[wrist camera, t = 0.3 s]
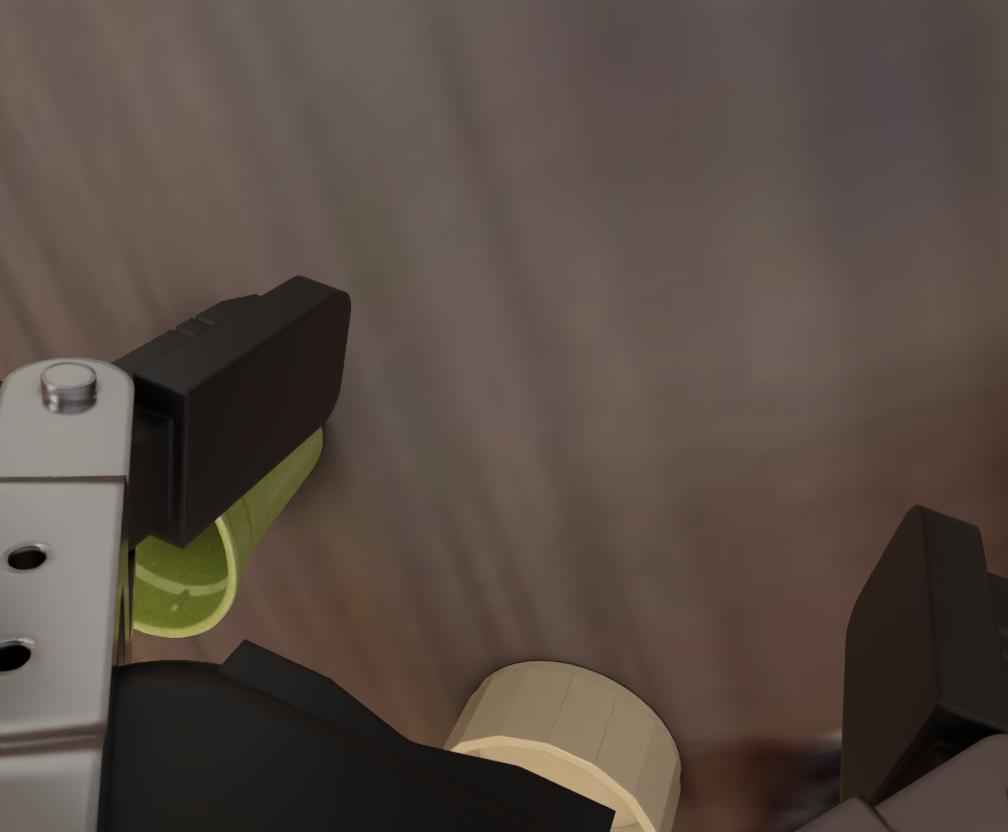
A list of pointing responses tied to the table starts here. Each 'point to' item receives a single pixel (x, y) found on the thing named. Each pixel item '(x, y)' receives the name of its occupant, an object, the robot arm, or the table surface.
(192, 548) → the plant pot
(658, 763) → the beige round bowl
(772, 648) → the table surface
